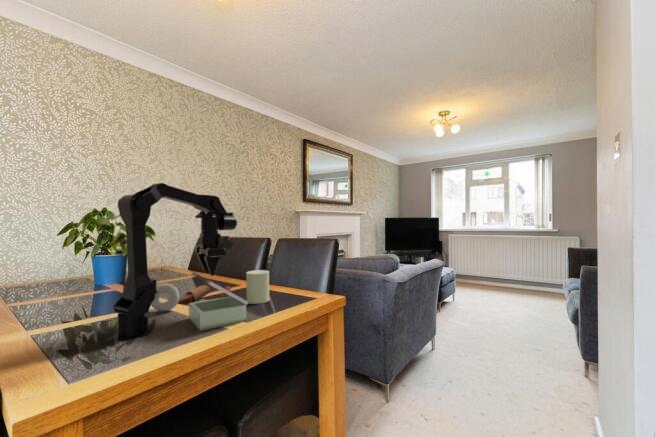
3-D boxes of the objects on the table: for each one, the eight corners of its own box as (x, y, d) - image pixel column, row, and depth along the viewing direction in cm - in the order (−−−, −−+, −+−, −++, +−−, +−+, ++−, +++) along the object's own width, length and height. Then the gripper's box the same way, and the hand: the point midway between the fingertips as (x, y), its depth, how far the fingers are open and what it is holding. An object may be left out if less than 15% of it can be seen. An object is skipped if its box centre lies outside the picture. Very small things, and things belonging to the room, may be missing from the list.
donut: (147, 313, 101) (147, 284, 101) (151, 310, 104) (151, 282, 104) (177, 312, 102) (177, 283, 102) (181, 309, 106) (181, 281, 106)
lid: (199, 279, 84) (204, 272, 85) (188, 272, 96) (192, 267, 96) (247, 305, 93) (250, 298, 94) (231, 296, 104) (234, 290, 105)
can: (267, 303, 112) (267, 272, 112) (243, 304, 112) (243, 272, 112) (271, 297, 121) (271, 268, 121) (249, 297, 121) (249, 269, 121)
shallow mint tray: (200, 330, 84) (200, 313, 84) (188, 318, 95) (188, 303, 95) (246, 320, 93) (246, 304, 93) (231, 310, 104) (231, 296, 104)
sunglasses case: (190, 292, 130) (198, 279, 130) (204, 300, 131) (212, 287, 131) (172, 304, 112) (182, 289, 112) (189, 313, 113) (198, 297, 113)
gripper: (241, 230, 102) (241, 275, 102) (223, 229, 117) (224, 268, 116) (208, 231, 95) (208, 279, 95) (194, 230, 110) (194, 271, 110)
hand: (209, 274), depth 104 cm, fingers open, 7 cm apart
